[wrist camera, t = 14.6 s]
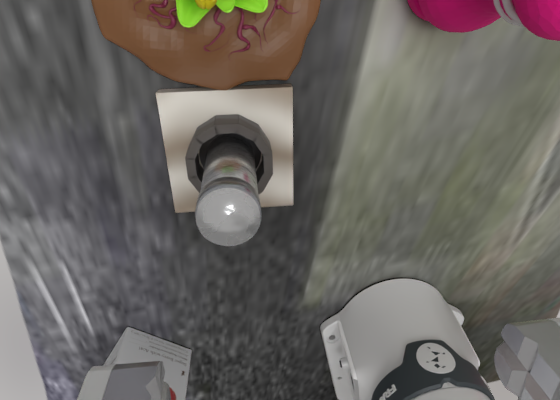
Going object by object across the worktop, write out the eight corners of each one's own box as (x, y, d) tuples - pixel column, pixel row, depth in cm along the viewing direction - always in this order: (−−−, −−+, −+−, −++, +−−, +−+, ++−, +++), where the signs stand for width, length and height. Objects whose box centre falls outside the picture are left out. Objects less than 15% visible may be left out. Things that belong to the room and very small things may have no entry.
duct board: (291, 198, 43) (297, 219, 39) (177, 205, 42) (171, 228, 38) (290, 83, 37) (297, 94, 33) (158, 89, 36) (149, 101, 32)
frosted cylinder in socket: (253, 130, 37) (260, 187, 27) (256, 176, 39) (263, 244, 29) (203, 133, 37) (190, 191, 26) (208, 178, 39) (198, 249, 28)
